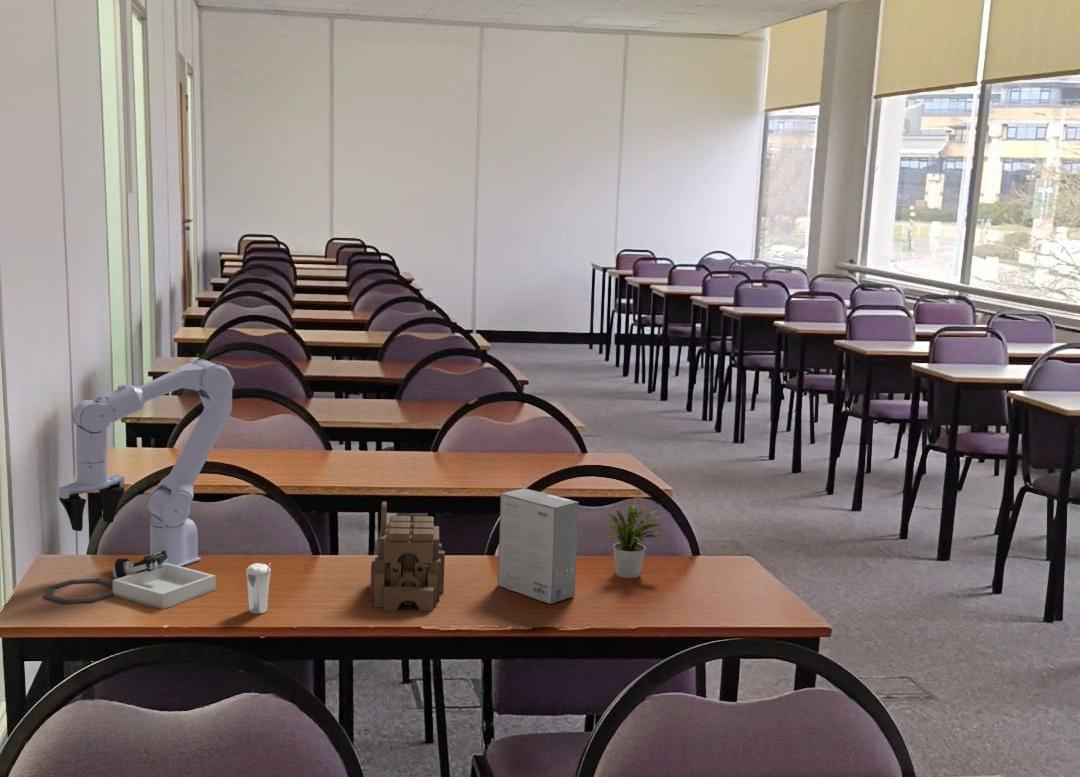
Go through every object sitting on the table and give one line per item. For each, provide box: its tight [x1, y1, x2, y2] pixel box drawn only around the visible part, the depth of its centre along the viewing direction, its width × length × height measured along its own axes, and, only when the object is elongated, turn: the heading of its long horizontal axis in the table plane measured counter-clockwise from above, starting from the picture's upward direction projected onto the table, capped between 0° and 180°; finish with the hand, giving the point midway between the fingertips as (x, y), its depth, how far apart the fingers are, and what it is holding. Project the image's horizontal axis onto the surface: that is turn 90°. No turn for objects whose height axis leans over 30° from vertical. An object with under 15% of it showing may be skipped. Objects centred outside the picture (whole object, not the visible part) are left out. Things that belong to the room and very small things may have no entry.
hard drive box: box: [497, 488, 580, 605], centre depth 233 cm, size 16×8×20 cm, turn 47°
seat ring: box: [43, 577, 115, 605], centre depth 223 cm, size 13×13×1 cm
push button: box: [112, 550, 169, 580], centre depth 227 cm, size 7×5×10 cm
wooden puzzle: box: [370, 501, 446, 612], centre depth 230 cm, size 22×15×19 cm, turn 5°
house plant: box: [605, 500, 666, 579], centre depth 245 cm, size 14×14×16 cm
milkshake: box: [245, 562, 272, 615], centre depth 216 cm, size 4×5×10 cm
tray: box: [112, 563, 217, 610], centre depth 225 cm, size 14×14×3 cm
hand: (92, 526), depth 231 cm, fingers open, 7 cm apart
